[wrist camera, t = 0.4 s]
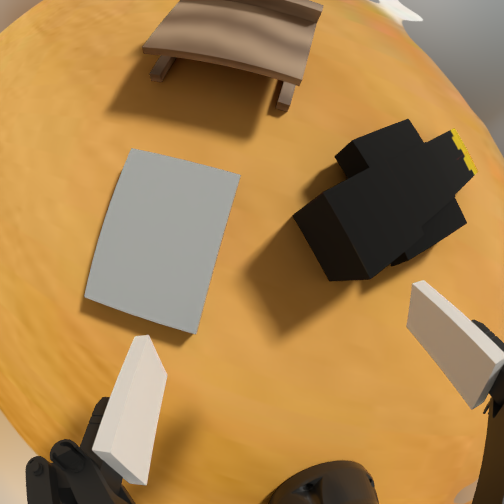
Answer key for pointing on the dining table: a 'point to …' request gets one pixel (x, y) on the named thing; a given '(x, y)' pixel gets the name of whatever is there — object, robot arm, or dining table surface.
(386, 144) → the toy
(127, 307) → the tile
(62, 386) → the dining table surface
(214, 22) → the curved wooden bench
